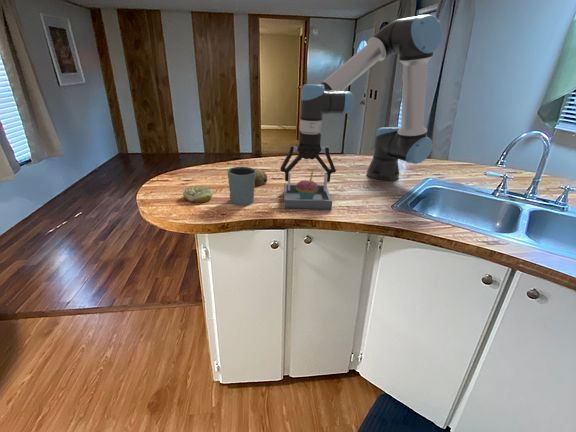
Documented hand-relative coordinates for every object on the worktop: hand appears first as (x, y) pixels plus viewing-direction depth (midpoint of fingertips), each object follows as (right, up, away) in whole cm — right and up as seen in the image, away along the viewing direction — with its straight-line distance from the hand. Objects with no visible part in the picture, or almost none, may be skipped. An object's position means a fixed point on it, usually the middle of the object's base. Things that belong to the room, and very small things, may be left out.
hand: (306, 189), depth 116 cm
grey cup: (-24, -5, -1) cm, 25 cm away
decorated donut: (-41, -4, +1) cm, 41 cm away
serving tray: (0, -4, +2) cm, 4 cm away
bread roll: (-22, +5, +19) cm, 29 cm away
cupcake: (0, -4, +1) cm, 4 cm away
